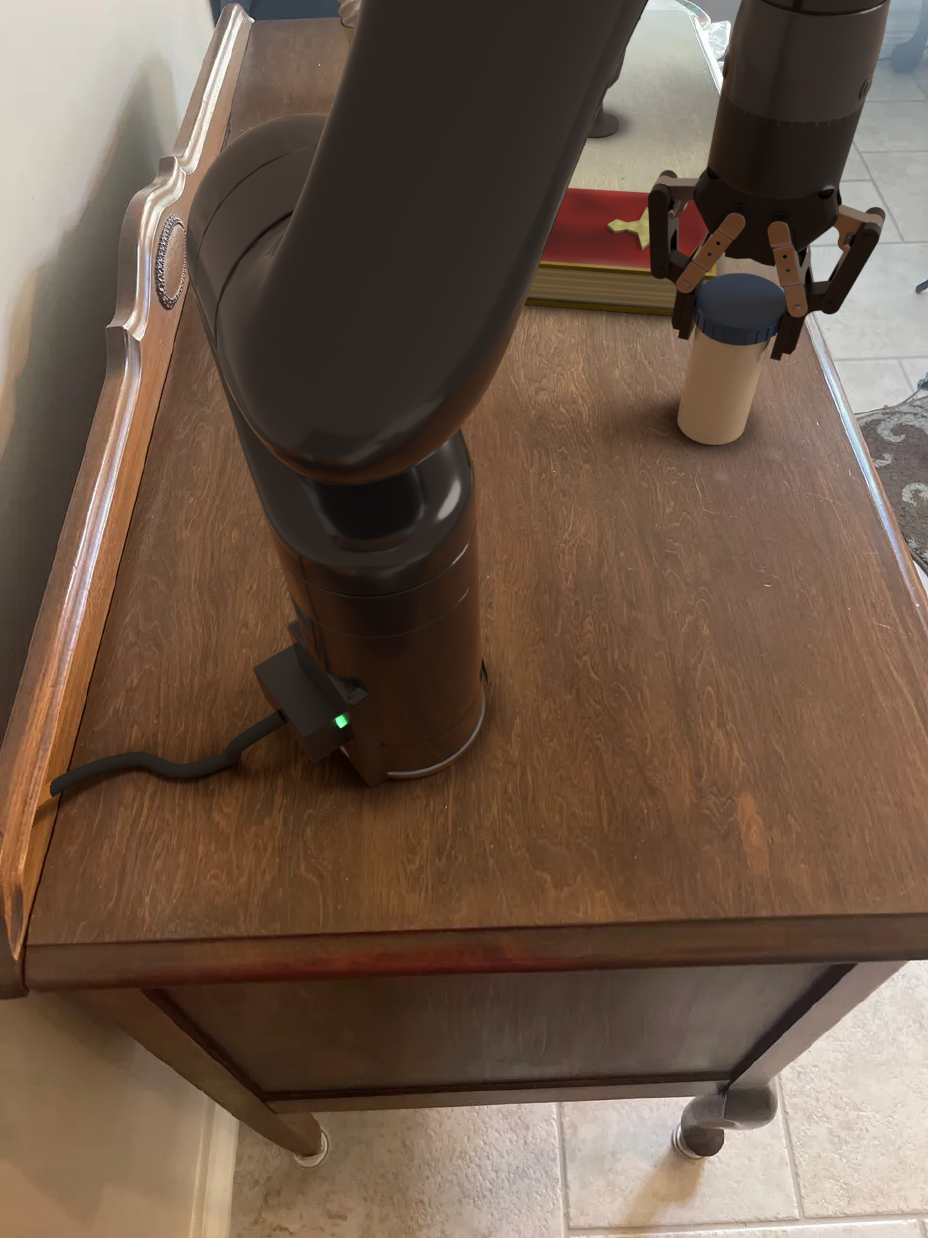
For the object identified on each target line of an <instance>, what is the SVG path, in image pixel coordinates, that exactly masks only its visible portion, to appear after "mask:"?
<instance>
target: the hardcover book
mask: <svg viewBox="0 0 928 1238" xmlns="http://www.w3.org/2000/svg"><path fill="white" fill-rule="evenodd" d="M649 194H650V192H644V191H630V190H629V191H628V190H627V191H626V190H609V189H596V188H595V189H593V188H581V187H580V188H577V187H568V189H567V192H566V194H565V197H564V200H563V202H562V205H561V208H560V210H559V213H558V216H557V218H556V221H555V224H554V226H553V229H552V232H551V234H550V237H549V240H548V243H547V245H546V248H545V251H544V253H543V256H542V259H541V261H540V264H539V267H538V269H537V272H536V275H535V278H534V280H533V283H532V286H531V288H530V291H529V294H528V296H527V299H526V302H525V304H524V305H530V306H544V307H553V308H566V309H567V308H570V309H582V310H593V311H594V310H595V311H597V310H598V311H605V312H606V311H608V312H622V313H631V314H633V313H634V314H647V315H658V316H659V315H660V316H671V317H672V315H673V310H674V304H675V298H676V293H677V289H676V286H675V284H674V283H673V282H672V281H670V280H669V279H667V278H664V279H657V278H655V277H654V276H653V275H652V274H651V269H650V242H649V216H648V196H649ZM678 227H679V251H680V252H681V253H683V254H685V255H687V256H688V257H689V256H690V255H691V254H692V252H693V251H694V250H695V248H696V247H697V246H698V244H699V243H700V241H701V240H702V238H703V237H704V235H705V234H706V232H707V231H708V229H707V227H706V225H705V223H704V221H703V219H702V217H701V215H700V213H699V211H698V209H697V207H696V205H695V203H694V201H689V202H688V203H687V206H686V208H685V210H684V212H683V214H682V215H681V216H680V217H678ZM717 272H718V261H717V262H716V263H715V264H714V265H713V267H712V268H711V269H710V271H709V272H707V273H706V274H705V275H704V276H703V277H705V279H704V284H705V283H706V282H707V281H709V280H710V279H712V278H715V277H717V276H718V274H717Z"/></svg>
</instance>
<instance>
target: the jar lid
mask: <svg viewBox="0 0 928 1238" xmlns="http://www.w3.org/2000/svg"><path fill="white" fill-rule="evenodd" d="M785 307H786V299H785V294H784V290H783V288H782V287H781V286H780V285H778V284H777V283H775V282H774V281H772V280H770V279H769V278H765V277H763V276H761V275H758V274H753V273H747V272H731V273H725V274H721V275H717V277H715V278H712V279H710V280H709V281H707V282H706V283H705V284H703V285H702V287H701V289H700V291H699V293H698V295H697V299H696V305H695V308H694V315H693V319H694V320H695V327H696V326H697V327H698V328H699V330H700V331H701V332H702V333H704V334H705V335H706V336H708V337H709V338H710V339H713V340H715V341H718V342H720V343H724V344H729V345H737V346H746V345H754V344H758V343H761V342H764V341H768V339H770V338H771V339H772V338H773V337H776V336H777V332H778V329H779V326H780V322H781V319H782V315H783V312H784V310H785ZM771 339H770V340H771Z"/></svg>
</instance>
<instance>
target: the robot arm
mask: <svg viewBox="0 0 928 1238" xmlns="http://www.w3.org/2000/svg"><path fill="white" fill-rule="evenodd" d="M649 1H650V0H361V3H360V8H359V12H358V17H357V22H356V26H355V29H354V33H353V37H352V40H351V44H350V45H349V48H348V52H347V55H346V57H345V62H344V66H343V69H342V73H341V76H340V78H339V82H338V84H337V88H336V91H335V94H334V96H333V100H332V102H331V105H330V108H329V111H328V113H322V112H296V113H291V114H286V115H285V114H284V115H281V116H277V117H272V118H270V119H267V120H265V121H262V122H260V123H258V124H256V125H254V126H253V127H251V128H248V129H247V130H245V131H244V132H243V133H241V134H240V135H238V136H237V137H236V138H234V139H233V140H231V142H230V143H229V144H228V145H227V146H225V148H223V149H222V151H220V152H219V154H218V155H217V156H216V157H215V159H214V160H213V161H212V163H211V164H210V166H209V167H208V168H207V170H206V172H205V173H204V175H203V177H202V179H201V180H200V182H199V184H198V187H197V189H196V191H195V193H194V196H193V199H192V203H191V205H190V208H189V213H188V217H187V222H186V228H185V245H184V246H185V247H184V251H185V263H186V269H187V275H188V281H189V283H190V289H191V291H192V295H193V298H194V303H195V305H196V308H197V311H198V315H199V318H200V321H201V324H202V327H203V331H204V334H205V336H206V339H207V340H206V341H207V342H208V346H209V349H210V352H211V355H212V358H213V361H214V364H215V368H216V370H217V374H218V378H219V380H220V383H221V387H222V389H223V392H224V395H225V398H226V401H227V405H228V408H229V410H230V413H231V417H232V421H233V423H234V427H235V430H236V433H237V438H238V440H239V444H240V447H241V450H242V453H243V457H244V459H245V463H246V465H247V470H248V472H249V474H250V478H251V480H252V484H253V486H254V489H255V493H256V495H257V498H258V502H259V504H260V508H261V511H262V513H263V516H264V519H265V520H266V525H267V527H268V531H269V534H270V536H271V539H272V542H273V545H274V549H275V553H276V555H277V558H278V561H279V565H280V568H281V571H282V575H283V578H284V581H285V583H286V588H287V590H288V594H289V597H290V601H291V603H292V606H293V610H294V613H295V616H296V618H295V619H294V620H292V621H290V622H289V623H288V624H287V632H288V634H289V637H290V641H291V643H292V644H291V645H289V646H287V647H286V648H284V649H282V650H280V651H279V652H277V653H275V654H274V655H272V656H270V657H269V658H267V659H266V660H263V661H262V662H260V663H259V664H257V665H255V666H254V667H252V669H253V672H254V674H255V677H256V679H257V682H258V684H259V687H260V690H261V691H262V694H263V696H264V698H265V700H266V701H267V702H268V704H269V705H270V707H271V708H272V709H273V711H274V712H273V713H271V714H270V715H267V716H266V717H264V718H263V719H261V720H260V721H258V722H256V723H255V724H253V725H252V726H250V727H248V728H247V729H245V730H244V731H242V732H240V733H239V734H238V735H236V736H235V737H233V738H232V739H231V740H230V741H229V742H228V743H227V745H226V747H225V751H222V752H220V753H218V754H216V755H214V756H211V757H208V758H206V759H202V760H197V761H194V762H188V763H187V762H186V763H176V762H172V761H168V760H167V759H164V758H162V757H160V756H158V755H156V754H152V753H149V752H145V751H129V752H128V751H127V752H123V753H118V754H114V755H110V756H106V757H105V756H104V757H102V758H99V759H96V760H93V761H89V762H87V763H84V764H82V765H79V766H77V767H75V768H72V769H70V770H68V771H66V772H64V773H62V774H60V775H58V776H57V777H55V778H53V779H52V780H53V781H52V782H51V785H50V794H51V796H52V797H53V798H55V797H56V796H57V795H60V794H61V793H63V792H64V791H66V790H68V789H70V788H72V787H74V786H76V785H78V784H80V783H82V782H85V781H87V780H89V779H92V778H95V777H98V776H100V775H103V774H107V773H111V772H113V771H118V770H123V769H128V768H134V767H142V768H145V769H148V770H150V771H152V772H154V773H156V774H159V775H161V776H164V777H168V778H172V779H179V780H180V779H184V780H185V779H194V778H198V777H202V776H206V775H209V774H212V773H216V772H219V771H220V770H223V769H226V768H227V767H229V766H231V765H233V764H235V763H238V762H239V760H240V759H241V757H242V752H244V751H245V750H247V749H248V748H249V747H251V746H253V745H254V744H255V743H257V742H259V741H260V740H262V739H264V738H265V737H267V736H268V735H270V734H272V733H273V732H275V731H277V730H278V729H280V728H281V727H283V726H285V727H286V728H287V730H288V732H290V734H291V735H292V737H293V738H294V740H295V741H296V742H297V744H298V745H299V746H300V748H301V749H302V751H303V752H304V753H305V755H306V756H307V758H308V759H309V760H310V762H311V764H313V765H314V764H316V763H318V762H319V761H321V760H323V759H324V758H325V757H327V756H329V755H331V754H332V753H334V752H335V751H336V750H339V751H340V752H341V754H343V756H344V757H345V758H346V759H347V760H348V761H349V762H350V763H351V764H352V766H353V767H354V768H355V770H356V771H357V772H358V774H359V775H360V777H361V778H362V779H363V780H364V781H365V783H366V784H367V785H368V786H369V787H371V788H374V787H376V786H378V785H379V784H381V783H382V782H385V781H386V780H388V779H394V780H413V779H419V778H424V777H427V776H431V775H434V774H437V773H439V772H441V771H443V770H445V769H447V768H449V767H450V766H452V765H453V764H455V763H456V762H458V761H459V760H460V759H461V758H463V756H464V755H465V754H467V753H468V751H469V750H470V749H471V748H472V746H473V745H474V743H475V742H476V740H477V738H478V737H479V735H480V732H481V730H482V727H483V724H484V721H485V715H486V693H485V689H484V682H483V681H484V679H485V682H486V685H487V687H488V686H489V683H488V682H489V680H488V679H489V677H488V671H487V667H486V664H485V662H484V658H483V655H482V630H481V629H482V628H481V625H482V624H481V605H480V604H481V601H480V600H481V599H480V580H479V579H480V578H479V577H480V575H479V547H478V546H479V545H478V544H479V543H478V516H477V515H478V507H477V506H478V505H477V504H478V503H477V502H478V501H477V483H476V482H477V481H476V472H475V467H474V462H473V457H472V454H471V451H470V448H469V445H468V442H467V439H466V436H465V434H464V430H463V428H462V427H463V425H464V424H465V422H466V421H467V420H468V418H470V417H471V415H472V414H473V412H475V410H476V408H477V407H478V405H479V404H480V403H481V401H482V399H483V397H484V396H485V395H486V392H487V391H488V389H489V388H490V385H491V384H492V381H493V379H494V377H495V375H496V374H497V371H498V369H499V368H500V365H501V363H502V361H503V359H504V356H505V354H506V352H507V349H508V348H509V345H510V343H511V340H512V338H513V335H514V333H515V331H516V328H517V326H518V323H519V320H520V317H521V315H522V312H523V309H524V306H525V305H526V304H525V302H526V299H527V296H528V294H529V291H530V288H531V286H532V283H533V280H534V278H535V275H536V272H537V269H538V267H539V264H540V261H541V259H542V256H543V253H544V251H545V248H546V245H547V243H548V240H549V237H550V234H551V232H552V229H553V226H554V224H555V221H556V218H557V216H558V213H559V210H560V208H561V205H562V202H563V200H564V197H565V194H566V192H567V189H568V188H569V186H570V184H571V181H572V178H573V176H574V173H575V171H576V168H577V166H578V163H579V160H580V158H581V156H582V154H583V150H584V148H585V145H586V143H587V140H588V138H589V137H588V135H589V133H590V130H591V128H592V126H593V123H594V121H595V118H596V116H597V114H598V111H599V109H600V106H601V104H602V102H603V103H604V100H605V97H606V94H607V92H608V90H609V89H608V87H609V85H610V83H611V81H612V78H613V76H614V74H615V72H616V70H617V67H618V65H619V63H620V61H621V59H622V56H623V54H624V52H625V50H626V51H627V47H628V45H629V43H630V41H631V39H632V37H633V35H634V32H635V31H636V28H637V26H638V24H639V22H640V21H641V19H642V16H643V13H644V12H645V9H646V8H647V6H648V5H647V4H648V2H649ZM891 1H892V0H740V4H739V7H738V9H737V13H736V16H735V20H734V23H733V27H732V31H731V35H730V39H729V45H728V51H727V52H726V54H725V57H724V61H723V67H722V82H721V89H720V93H719V99H718V105H717V109H716V115H715V120H714V126H713V132H712V137H711V142H710V148H709V153H708V154H709V155H708V158H707V163H706V167H705V169H704V170H703V171H702V173H701V174H700V175H699V177H697V178H696V177H678V175H677V173H676V172H675V171H674V170H671V169H665V170H663V171H661V172H660V174H659V176H658V178H656V180H655V182H654V184H653V186H652V188H651V190H650V192H649V193H650V194H649V196H648V216H649V242H650V269H651V274H652V275H653V276H654V277H655V278H657V279H664V278H667V279H669V280H670V281H672V282H673V283H674V284H675V286H676V289H677V293H676V298H675V304H674V310H673V315H672V316H671V326H672V329H673V330H677V331H678V335H677V339H680V340H683V341H684V340H685V341H689V340H690V337H691V335H692V333H693V331H694V329H695V327H696V323H695V320H694V319H693V315H694V308H695V305H696V299H697V295H698V293H699V291H700V289H701V287H702V285H703V284H704V279H705V277H703V276H704V275H705V274H706V273H707V272H709V271H710V269H711V268H712V267H713V265H714V264H715V263H716V262H717V263H718V261H719V259H720V258H721V256H722V255H723V254H724V258H729V259H733V260H753V261H754V262H757V263H758V264H761V265H765V266H768V267H775V268H776V272H777V278H778V282H779V287H780V288H782V290H783V292H784V294H785V299H786V307H785V310H784V312H783V315H782V319H781V322H780V326H779V329H778V332H777V333H776V336H775V340H774V342H773V346H772V350H771V353H770V357H769V359H770V360H774V361H777V362H781V360H782V357H783V354H785V355H789V356H791V355H792V354H793V352H795V350H796V349H797V346H798V343H799V340H800V336H801V334H802V329H803V327H804V325H805V324H804V323H805V320H806V318H807V316H808V315H810V314H811V313H814V312H821V313H823V314H825V315H835V314H836V313H838V312H839V310H840V309H841V307H842V305H843V304H844V303H845V300H846V298H847V297H848V295H849V293H850V292H851V290H852V288H853V286H854V285H855V283H856V281H857V279H858V278H859V276H860V274H861V273H862V271H863V269H864V268H865V266H866V264H867V262H868V260H869V259H870V257H871V256H872V254H873V252H874V250H875V249H876V247H877V245H878V244H879V241H880V239H881V234H882V232H883V227H884V223H885V221H886V211H885V210H884V209H883V208H882V207H880V206H872V207H869V208H868V209H866V210H865V212H864V211H862V210H859V209H856V208H853V207H850V206H847V205H845V204H843V197H842V194H841V190H840V189H841V188H840V184H841V180H842V178H843V174H844V170H845V167H846V164H847V161H848V157H849V154H850V152H851V151H850V150H851V148H852V145H853V141H854V137H855V135H856V133H857V132H856V131H857V128H858V125H859V122H860V119H861V115H862V112H863V108H864V105H865V103H866V99H867V96H868V93H869V92H870V89H871V87H872V84H873V79H874V75H875V74H874V73H875V70H876V68H877V64H878V61H879V57H880V54H881V50H882V46H883V43H884V38H885V33H886V28H887V22H888V15H889V11H890V5H891ZM640 18H641V19H640ZM689 201H694V203H695V205H696V207H697V209H698V211H699V213H700V215H701V217H702V219H703V221H704V223H705V225H706V227H707V229H708V231H707V232H706V234H705V235H704V237H703V238H702V240H701V241H700V243H699V244H698V246H697V247H696V248H695V250H694V251H693V252H692V254H691V255H690V256H689V257H688V256H687V255H685V254H683V253H681V252H680V251H679V227H678V217H680V216H681V215H682V214H683V212H684V210H685V208H686V206H687V203H688V202H689ZM831 228H834V229H836V230H837V232H838V238H837V247H838V249H840V250H841V251H842V254H841V255H840V257H839V259H838V261H837V263H836V264H835V266H834V268H833V270H832V272H831V274H830V275H829V277H828V279H827V280H821V281H815V278H814V272H813V269H812V268H813V267H812V249H811V244H812V243H814V242H815V241H816V240H817V239H819V238H820V237H822V236H823V235H824V234H825V233H827V232H828V231H829V230H831ZM483 677H484V678H483Z"/></svg>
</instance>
